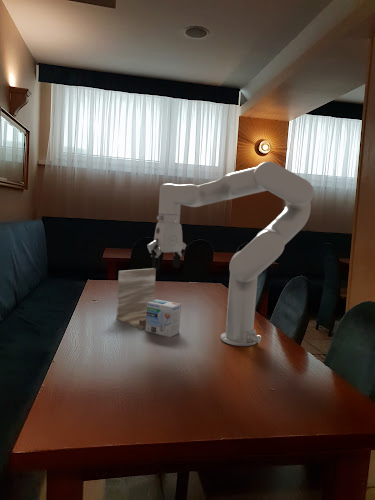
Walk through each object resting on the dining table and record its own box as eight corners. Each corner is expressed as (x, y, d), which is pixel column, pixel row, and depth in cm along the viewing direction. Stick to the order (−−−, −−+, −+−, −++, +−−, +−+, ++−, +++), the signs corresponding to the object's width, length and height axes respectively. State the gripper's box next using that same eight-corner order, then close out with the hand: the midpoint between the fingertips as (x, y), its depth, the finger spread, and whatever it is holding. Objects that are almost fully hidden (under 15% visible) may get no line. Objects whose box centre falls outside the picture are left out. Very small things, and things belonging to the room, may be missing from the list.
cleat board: (177, 321, 153) (180, 274, 151) (141, 328, 140) (144, 277, 139) (151, 312, 164) (154, 268, 162) (116, 318, 152) (118, 270, 150)
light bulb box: (144, 331, 138) (146, 302, 137) (155, 327, 144) (156, 298, 143) (170, 337, 133) (172, 307, 132) (180, 332, 139) (181, 303, 138)
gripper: (156, 219, 126) (154, 271, 128) (193, 221, 138) (191, 268, 140) (142, 218, 131) (140, 267, 133) (179, 219, 144) (176, 265, 145)
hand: (166, 267), depth 136 cm, fingers open, 9 cm apart
